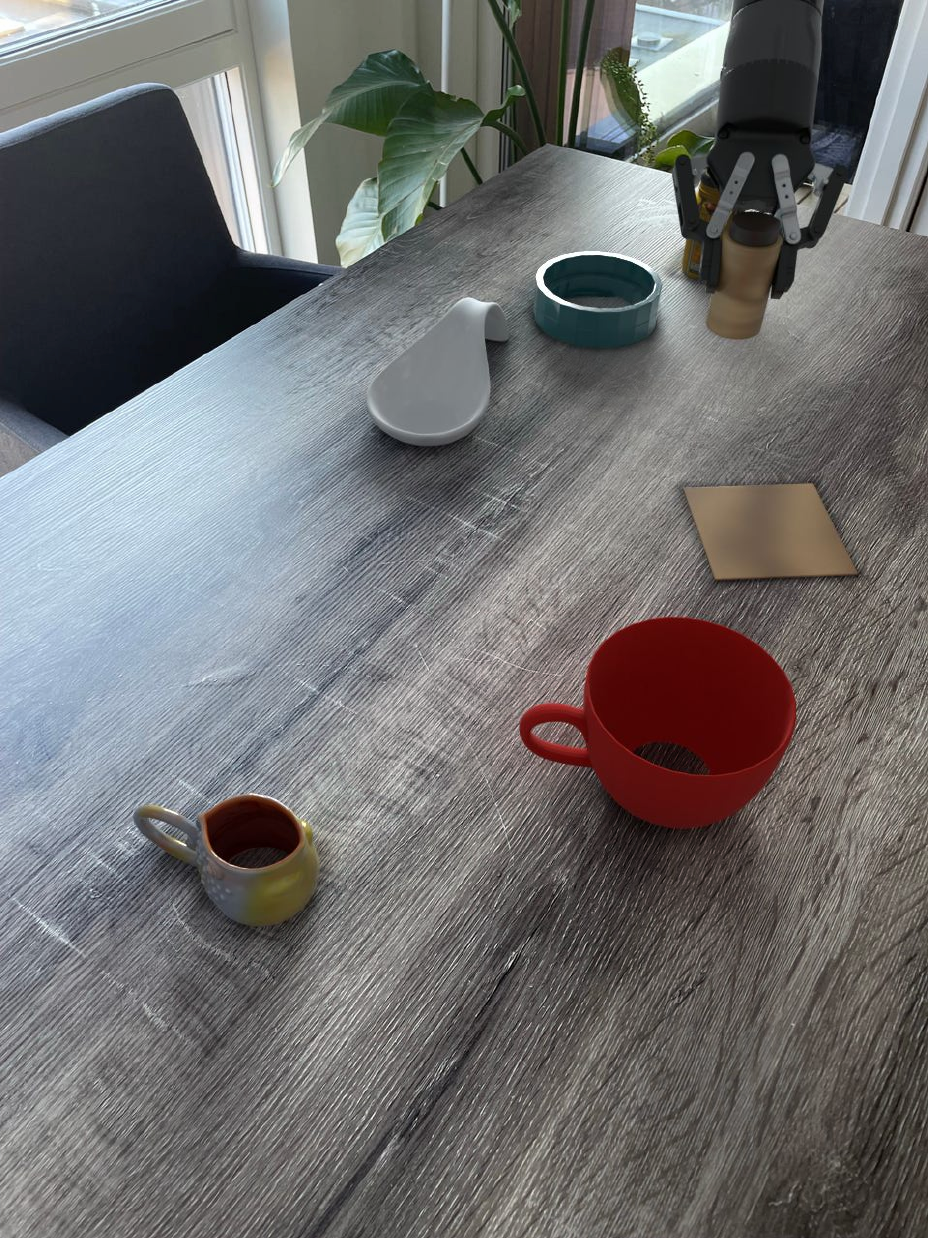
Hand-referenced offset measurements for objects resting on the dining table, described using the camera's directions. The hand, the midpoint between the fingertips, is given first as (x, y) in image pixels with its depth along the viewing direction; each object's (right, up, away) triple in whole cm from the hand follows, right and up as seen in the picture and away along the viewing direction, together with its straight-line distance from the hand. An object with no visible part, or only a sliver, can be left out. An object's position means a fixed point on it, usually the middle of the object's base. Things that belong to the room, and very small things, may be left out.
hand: (744, 292), depth 80 cm
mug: (-37, -43, -17) cm, 59 cm away
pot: (-8, +7, +32) cm, 33 cm away
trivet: (+3, -19, +6) cm, 21 cm away
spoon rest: (-24, -4, +21) cm, 32 cm away
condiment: (+7, +15, +40) cm, 43 cm away
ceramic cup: (-11, -38, -12) cm, 41 cm away
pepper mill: (0, -1, +4) cm, 4 cm away
